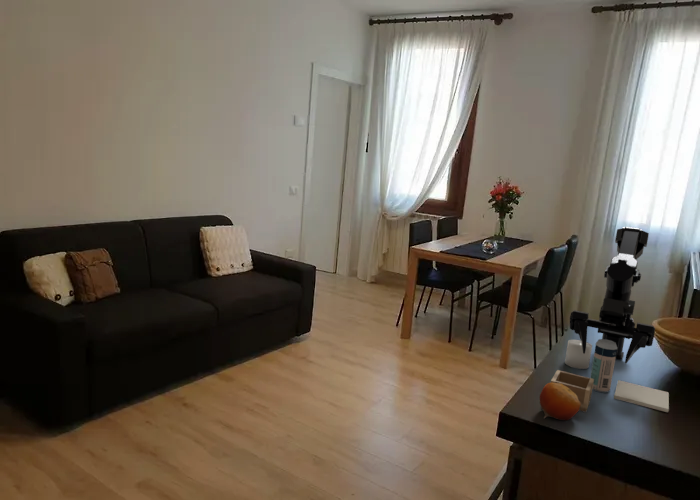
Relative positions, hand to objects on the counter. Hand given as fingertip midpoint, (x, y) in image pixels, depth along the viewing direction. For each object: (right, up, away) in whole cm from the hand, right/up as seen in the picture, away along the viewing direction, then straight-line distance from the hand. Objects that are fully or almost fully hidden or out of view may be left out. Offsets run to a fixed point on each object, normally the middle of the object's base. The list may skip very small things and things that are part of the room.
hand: (604, 357), depth 129 cm
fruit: (-17, -10, -15) cm, 24 cm away
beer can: (-1, -8, +1) cm, 8 cm away
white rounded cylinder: (0, -5, +17) cm, 17 cm away
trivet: (+8, -9, -1) cm, 12 cm away
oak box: (-11, -8, -7) cm, 15 cm away
